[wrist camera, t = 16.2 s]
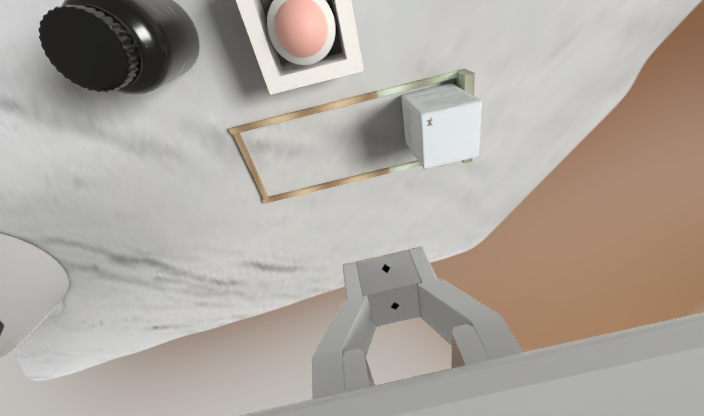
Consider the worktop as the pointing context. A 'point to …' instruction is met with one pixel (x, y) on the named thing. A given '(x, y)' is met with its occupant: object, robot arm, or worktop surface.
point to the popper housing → (297, 74)
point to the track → (462, 81)
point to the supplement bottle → (119, 43)
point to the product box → (442, 124)
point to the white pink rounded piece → (301, 29)
